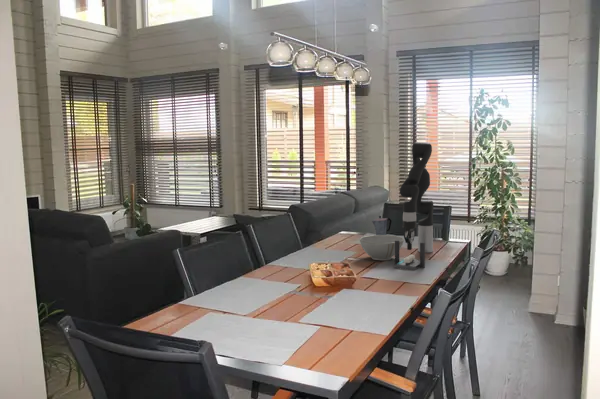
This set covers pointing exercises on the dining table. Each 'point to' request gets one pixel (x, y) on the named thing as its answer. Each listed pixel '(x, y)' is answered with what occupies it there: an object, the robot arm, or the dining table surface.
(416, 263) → the panel
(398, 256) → the dark gray rounded rod
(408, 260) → the paddles
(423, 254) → the cord post
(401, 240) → the decorative bowl
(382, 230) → the moka pot
